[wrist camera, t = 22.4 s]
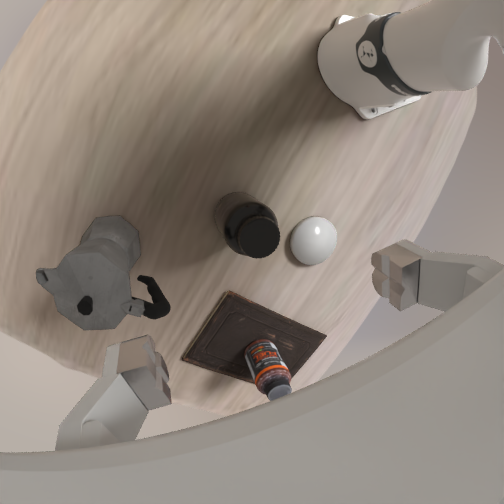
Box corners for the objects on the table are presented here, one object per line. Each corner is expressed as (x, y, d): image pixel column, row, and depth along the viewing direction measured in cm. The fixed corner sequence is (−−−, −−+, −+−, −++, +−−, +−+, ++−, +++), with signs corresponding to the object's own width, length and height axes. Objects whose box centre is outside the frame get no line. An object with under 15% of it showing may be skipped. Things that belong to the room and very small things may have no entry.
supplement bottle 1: (267, 206, 45) (301, 229, 34) (242, 244, 46) (267, 277, 35) (230, 181, 42) (253, 197, 32) (204, 221, 43) (218, 250, 33)
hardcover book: (226, 284, 49) (229, 291, 47) (322, 329, 59) (327, 336, 57) (180, 353, 52) (181, 362, 50) (276, 384, 61) (279, 391, 59)
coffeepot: (65, 260, 39) (22, 327, 23) (78, 201, 37) (28, 242, 21) (158, 289, 45) (160, 367, 29) (177, 233, 43) (186, 292, 27)
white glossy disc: (330, 210, 48) (333, 211, 47) (335, 253, 52) (339, 255, 50) (285, 224, 47) (288, 226, 46) (294, 268, 50) (297, 271, 49)
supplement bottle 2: (269, 332, 52) (294, 374, 42) (278, 354, 55) (301, 395, 45) (238, 346, 52) (257, 391, 42) (249, 367, 54) (268, 410, 44)
